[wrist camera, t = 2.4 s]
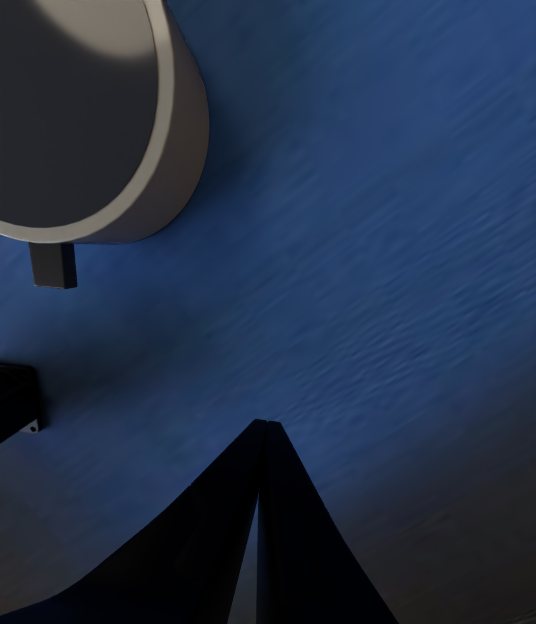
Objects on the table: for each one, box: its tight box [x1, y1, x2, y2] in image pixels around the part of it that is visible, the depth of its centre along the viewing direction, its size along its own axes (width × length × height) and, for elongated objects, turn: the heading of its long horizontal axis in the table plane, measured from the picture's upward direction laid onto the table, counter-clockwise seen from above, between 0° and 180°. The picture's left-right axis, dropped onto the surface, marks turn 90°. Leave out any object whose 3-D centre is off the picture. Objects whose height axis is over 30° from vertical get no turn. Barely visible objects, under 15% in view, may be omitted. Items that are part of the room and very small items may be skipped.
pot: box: [0, 0, 209, 289], centre depth 15 cm, size 16×21×6 cm
